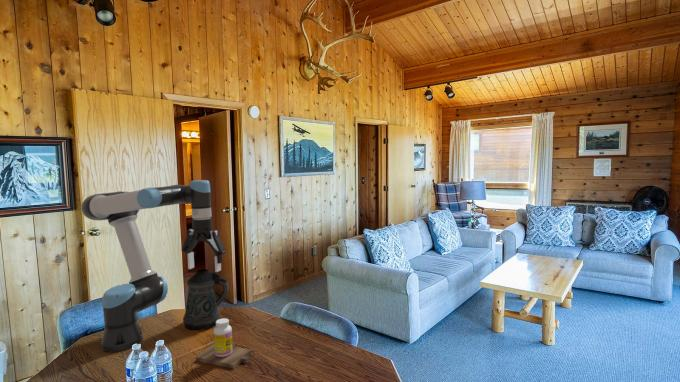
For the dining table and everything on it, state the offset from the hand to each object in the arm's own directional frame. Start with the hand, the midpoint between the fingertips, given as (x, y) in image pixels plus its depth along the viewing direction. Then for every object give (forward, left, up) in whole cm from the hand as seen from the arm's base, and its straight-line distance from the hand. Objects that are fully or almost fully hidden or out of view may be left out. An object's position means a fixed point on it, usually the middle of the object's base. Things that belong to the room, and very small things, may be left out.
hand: (204, 269), depth 151 cm
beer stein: (-14, +15, -31) cm, 37 cm away
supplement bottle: (+14, -8, -29) cm, 33 cm away
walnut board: (+15, -8, -31) cm, 35 cm away
